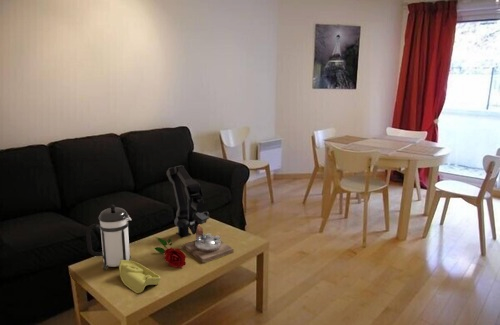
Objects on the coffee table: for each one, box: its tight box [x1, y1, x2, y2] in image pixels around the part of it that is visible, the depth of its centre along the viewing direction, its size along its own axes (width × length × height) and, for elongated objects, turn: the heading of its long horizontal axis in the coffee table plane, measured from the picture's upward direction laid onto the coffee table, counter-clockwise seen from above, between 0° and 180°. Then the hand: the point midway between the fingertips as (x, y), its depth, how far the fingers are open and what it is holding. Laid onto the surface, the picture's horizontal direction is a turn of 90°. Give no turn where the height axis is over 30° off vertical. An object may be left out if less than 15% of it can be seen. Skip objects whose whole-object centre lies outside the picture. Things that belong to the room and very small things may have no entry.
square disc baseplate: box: [182, 234, 235, 264], centre depth 194 cm, size 20×18×2 cm
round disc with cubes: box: [194, 224, 222, 252], centre depth 195 cm, size 18×13×7 cm
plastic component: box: [118, 259, 162, 294], centre depth 165 cm, size 20×7×10 cm
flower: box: [154, 236, 187, 268], centre depth 186 cm, size 9×9×30 cm
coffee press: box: [85, 204, 132, 271], centre depth 175 cm, size 17×16×30 cm
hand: (193, 234), depth 198 cm, fingers closed
